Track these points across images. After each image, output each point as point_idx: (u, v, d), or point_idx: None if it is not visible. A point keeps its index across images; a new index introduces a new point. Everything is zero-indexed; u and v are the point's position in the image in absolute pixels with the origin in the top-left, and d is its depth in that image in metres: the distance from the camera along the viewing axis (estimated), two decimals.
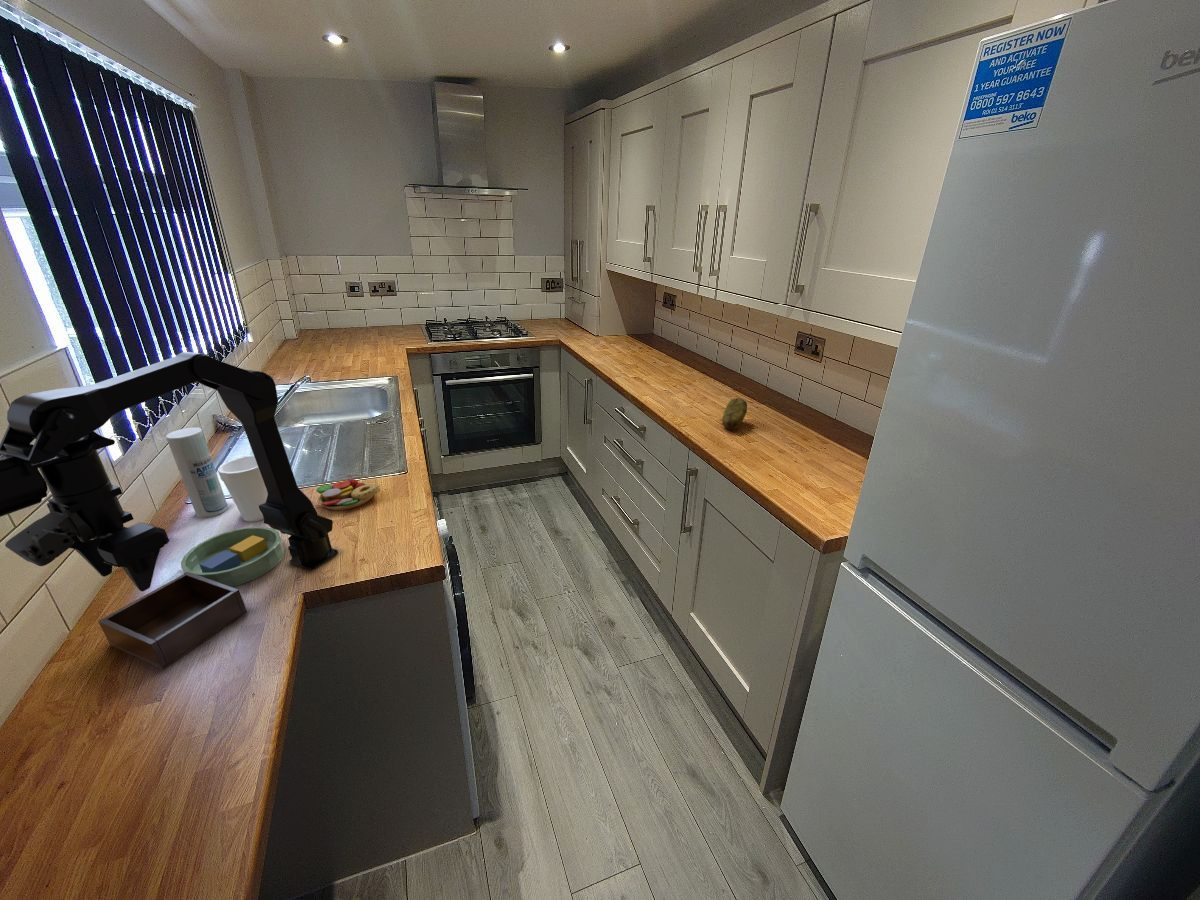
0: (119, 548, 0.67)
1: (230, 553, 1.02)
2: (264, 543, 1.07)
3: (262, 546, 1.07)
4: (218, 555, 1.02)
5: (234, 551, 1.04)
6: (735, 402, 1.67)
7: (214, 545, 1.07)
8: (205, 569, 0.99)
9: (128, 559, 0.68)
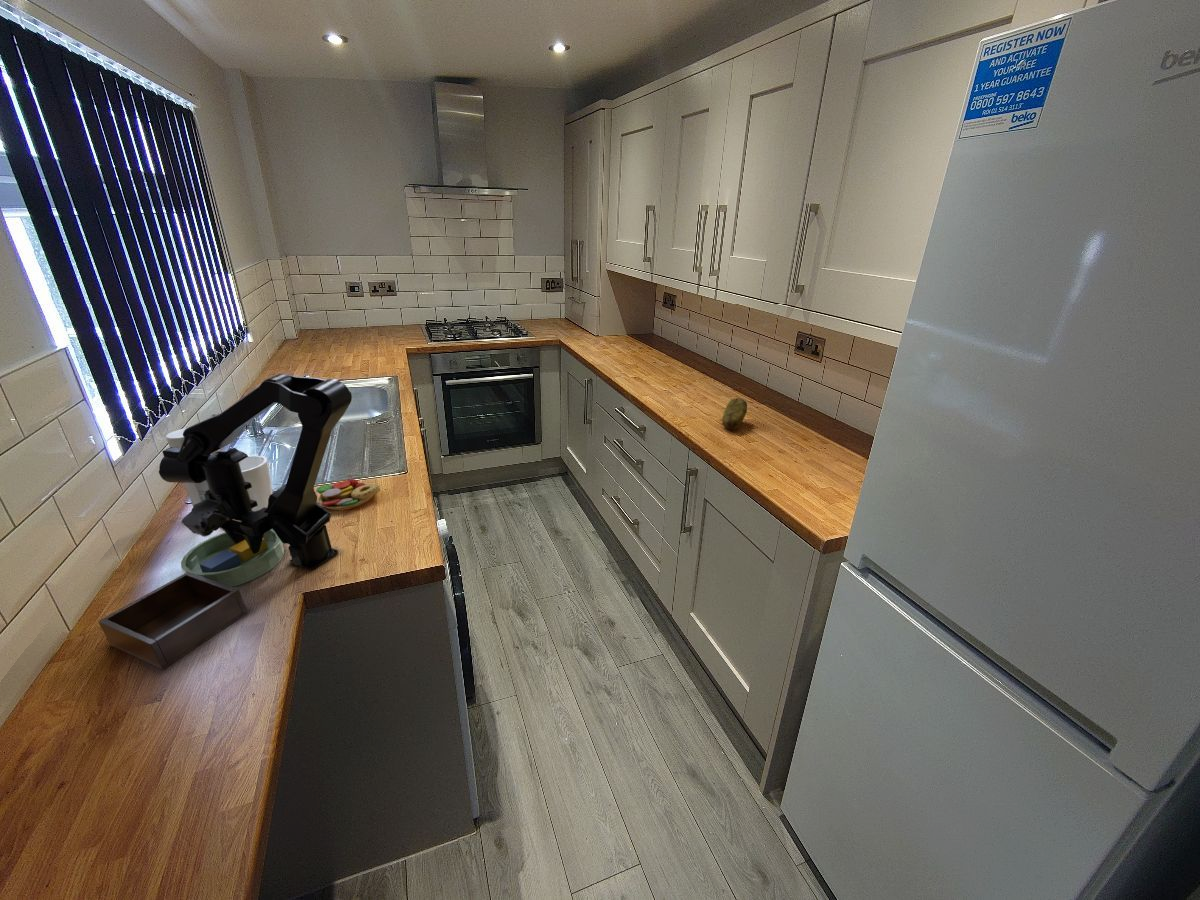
0: (256, 524, 0.97)
1: (230, 553, 1.02)
2: (264, 543, 1.07)
3: (262, 546, 1.07)
4: (218, 555, 1.02)
5: (234, 551, 1.04)
6: (735, 402, 1.67)
7: (214, 545, 1.07)
8: (205, 569, 0.99)
9: (261, 532, 0.98)
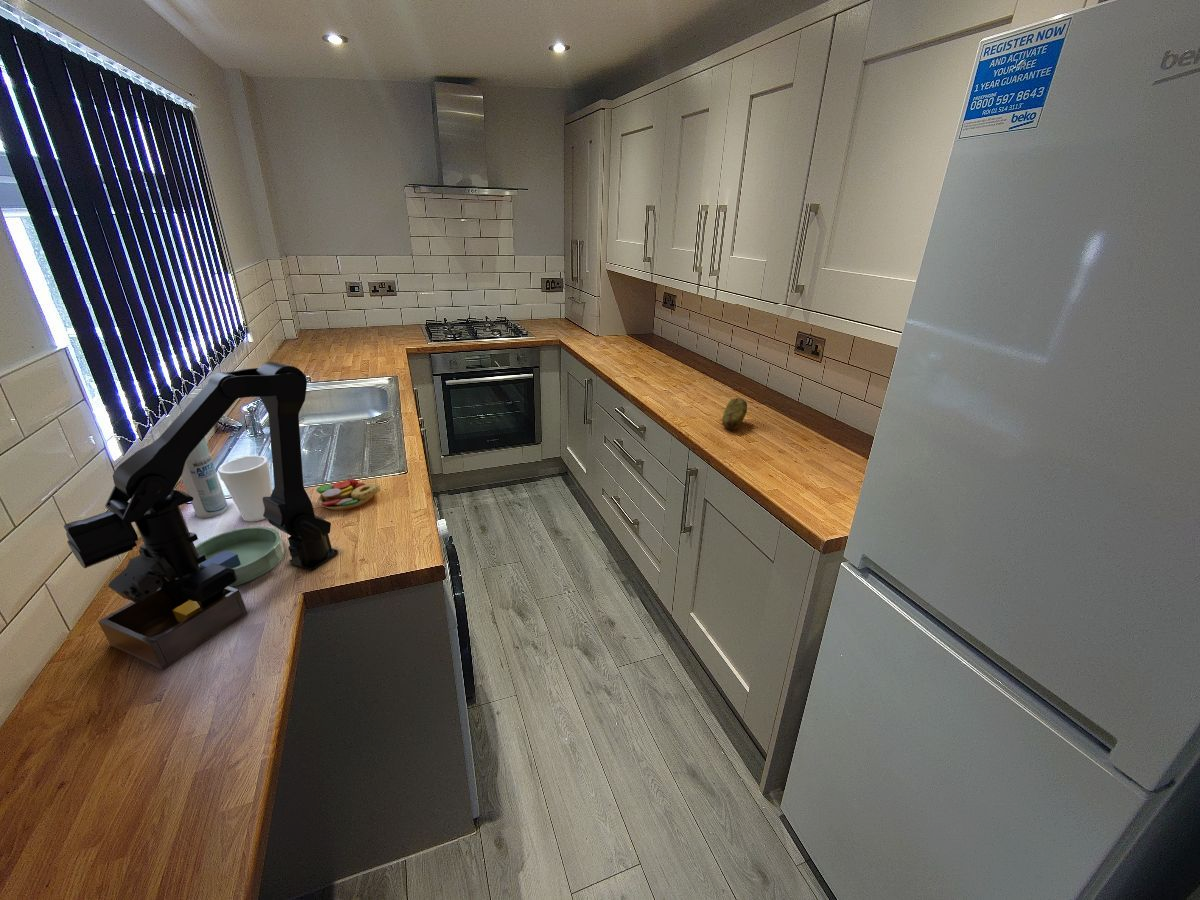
0: (200, 587, 0.81)
1: (230, 553, 1.02)
2: None
3: None
4: (218, 555, 1.02)
5: (177, 614, 0.87)
6: (735, 402, 1.67)
7: (214, 545, 1.07)
8: None
9: (207, 596, 0.82)
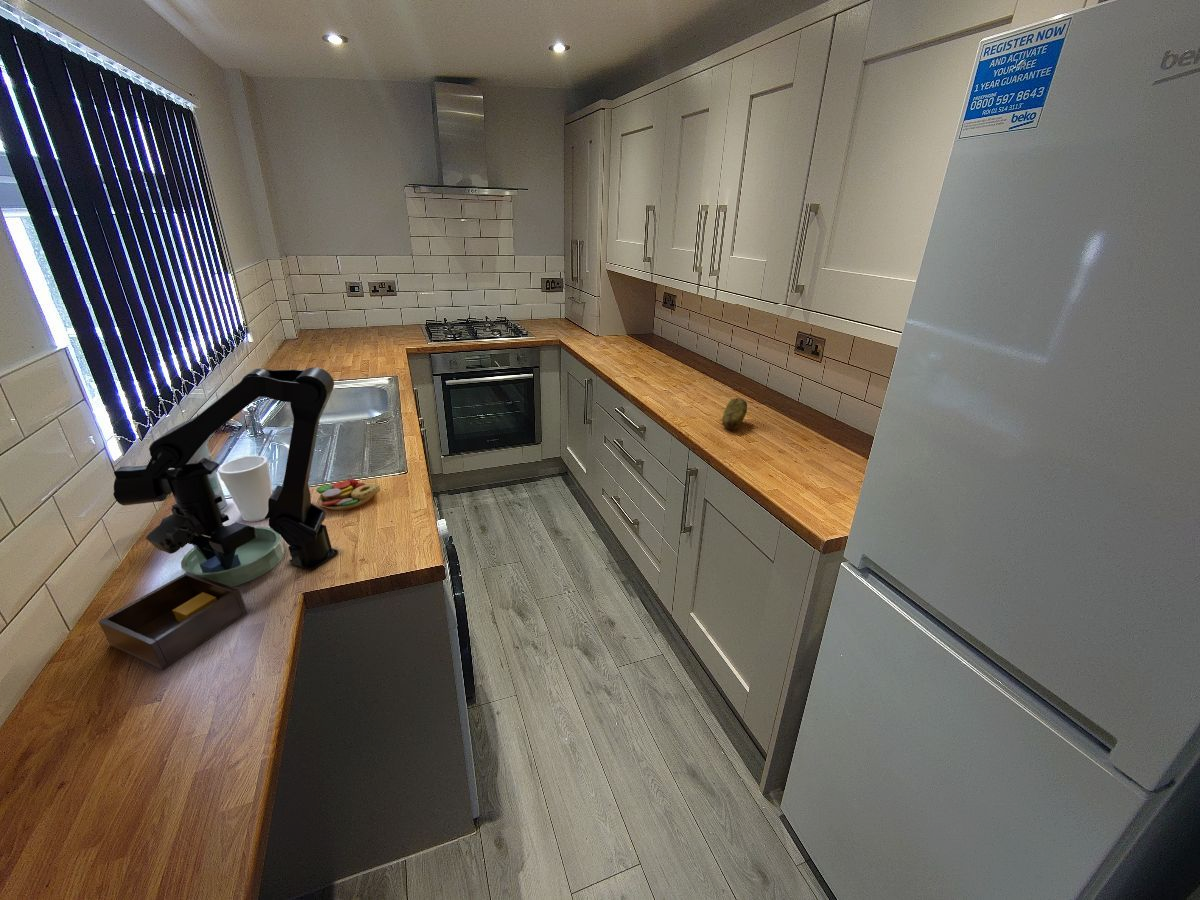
0: (225, 540, 0.92)
1: None
2: None
3: None
4: None
5: (177, 614, 0.87)
6: (735, 402, 1.67)
7: None
8: (205, 569, 0.99)
9: (231, 549, 0.93)
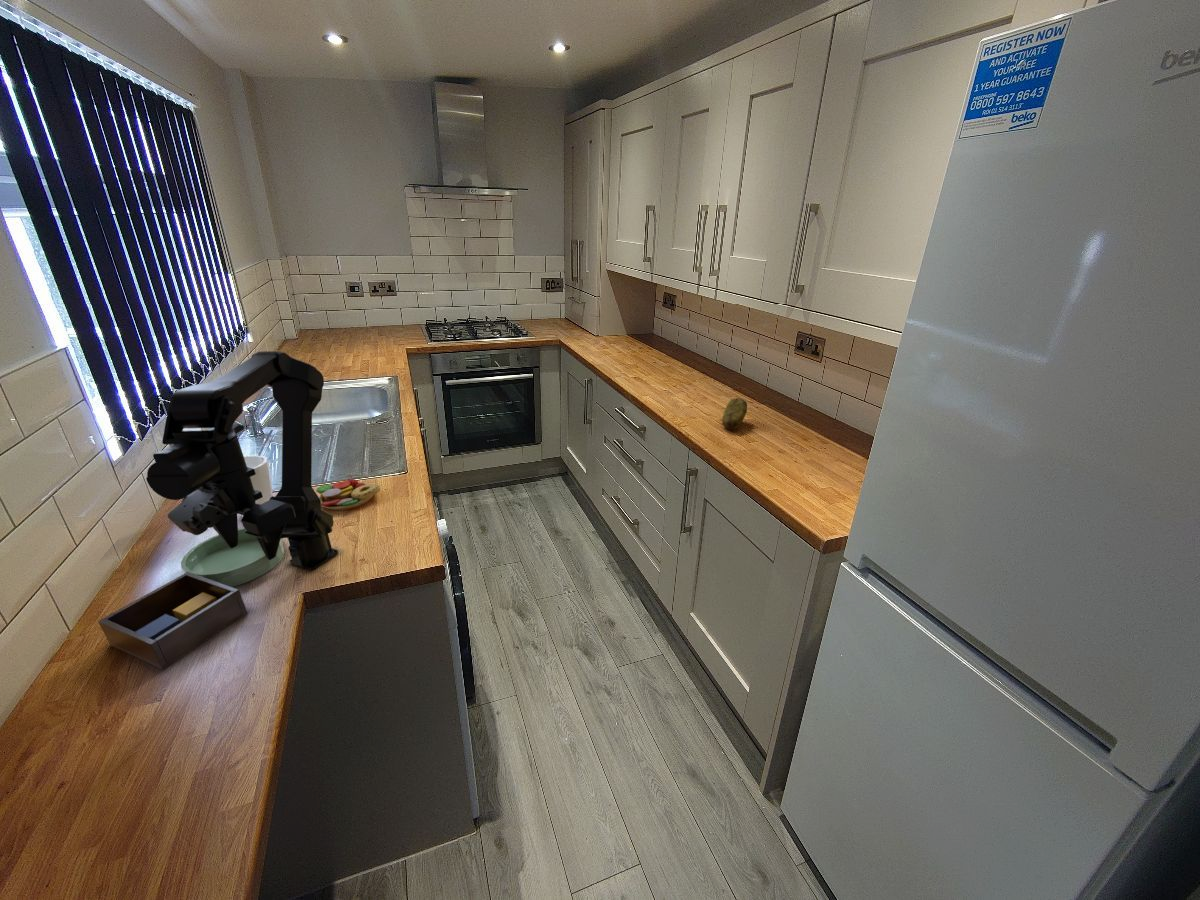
0: (261, 520, 0.78)
1: (171, 618, 0.86)
2: None
3: None
4: (156, 621, 0.85)
5: (177, 614, 0.87)
6: (735, 402, 1.67)
7: (214, 545, 1.07)
8: None
9: (267, 530, 0.79)
